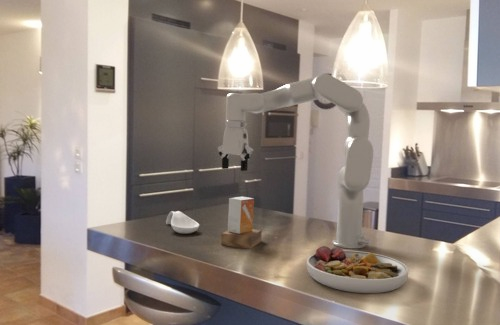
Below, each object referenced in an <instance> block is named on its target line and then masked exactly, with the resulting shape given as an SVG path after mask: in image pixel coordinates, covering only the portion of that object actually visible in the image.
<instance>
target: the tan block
mask: <svg viewBox="0 0 500 325" xmlns="http://www.w3.org/2000/svg"><path fill="white" fill-rule="evenodd" d="M262 234H263V232H262V230H261V229H254V228H252V231H250V232H245V233H241V234H238V233H233V232H229V231H228V229H226V230H225V231H223V232H221V240H220V242H221V243H220V245H221V246H225V247H227V246H228V247H234V248H242V249H252V248H254V247H256V246H257V245H259V244H260V243H261V242H262Z"/></svg>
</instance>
